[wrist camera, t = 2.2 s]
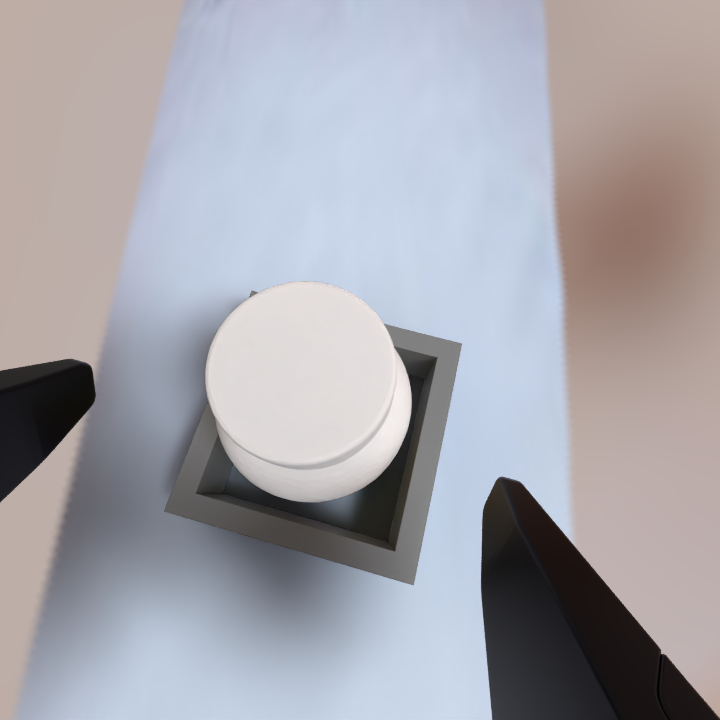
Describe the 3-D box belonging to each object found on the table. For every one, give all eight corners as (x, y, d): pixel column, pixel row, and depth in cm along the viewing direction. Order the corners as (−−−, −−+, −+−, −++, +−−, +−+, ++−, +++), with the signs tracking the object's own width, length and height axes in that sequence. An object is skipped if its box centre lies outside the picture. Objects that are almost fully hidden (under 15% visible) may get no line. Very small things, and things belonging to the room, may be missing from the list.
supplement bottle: (240, 428, 17) (114, 354, 8) (335, 350, 19) (316, 210, 9) (321, 528, 16) (277, 573, 7) (416, 438, 17) (486, 376, 8)
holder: (402, 568, 16) (413, 585, 13) (197, 508, 16) (164, 511, 14) (445, 366, 18) (461, 343, 16) (267, 321, 19) (251, 290, 16)
